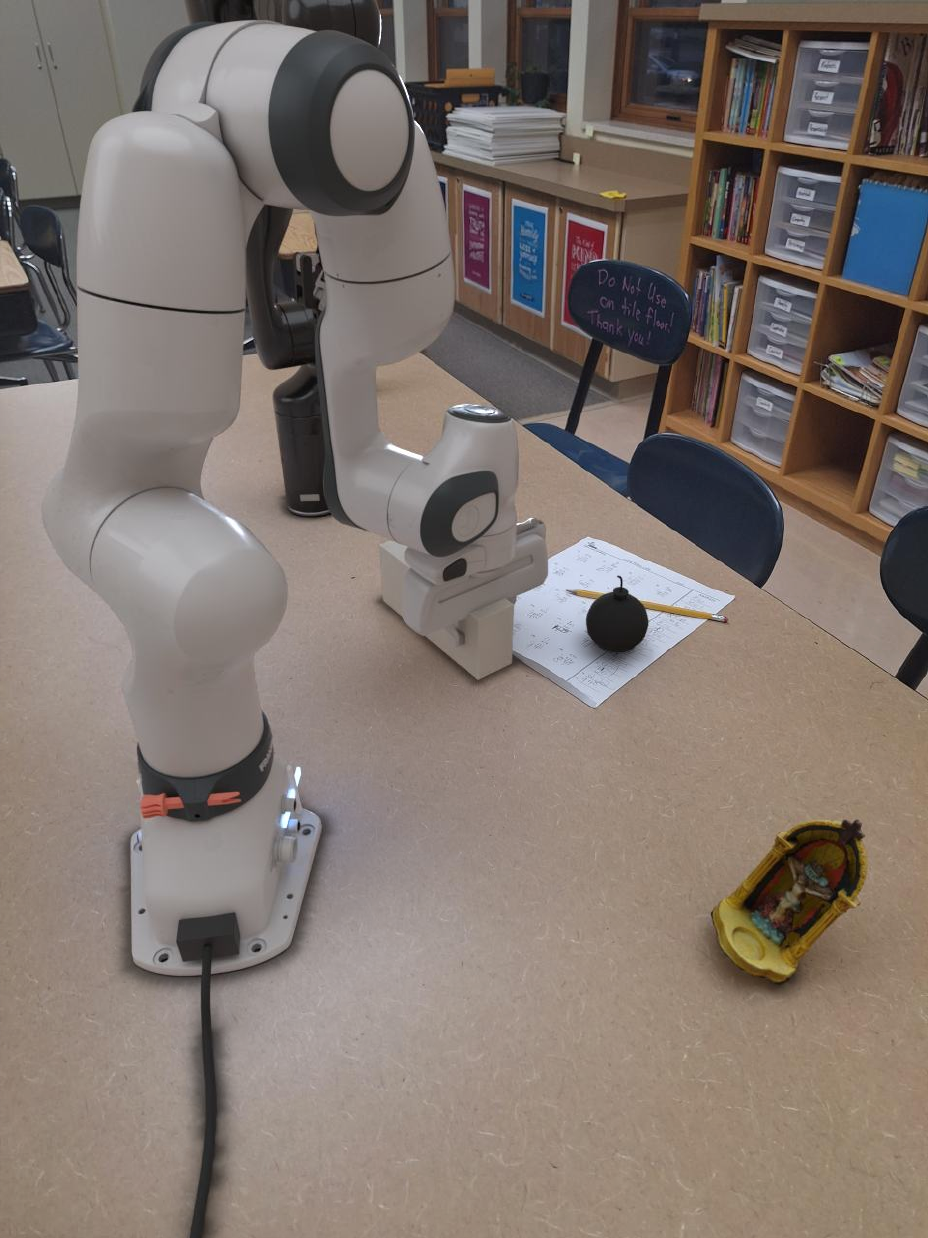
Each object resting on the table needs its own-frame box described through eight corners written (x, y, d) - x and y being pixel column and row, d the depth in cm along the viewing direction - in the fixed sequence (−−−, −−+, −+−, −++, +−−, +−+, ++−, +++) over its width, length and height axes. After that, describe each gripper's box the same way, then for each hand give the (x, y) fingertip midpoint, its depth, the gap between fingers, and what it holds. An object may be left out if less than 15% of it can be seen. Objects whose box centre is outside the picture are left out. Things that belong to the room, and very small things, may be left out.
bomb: (597, 622, 117) (606, 546, 110) (653, 640, 114) (665, 563, 107) (573, 653, 112) (580, 575, 105) (631, 672, 108) (642, 593, 101)
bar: (512, 663, 110) (514, 604, 105) (477, 680, 107) (478, 620, 102) (415, 587, 125) (412, 532, 119) (382, 600, 122) (378, 544, 116)
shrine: (791, 892, 81) (830, 781, 73) (851, 966, 75) (901, 853, 66) (686, 929, 78) (714, 817, 69) (739, 1009, 72) (776, 896, 63)
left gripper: (529, 504, 108) (524, 595, 116) (391, 555, 98) (397, 651, 106) (562, 523, 104) (556, 617, 112) (423, 579, 94) (426, 677, 102)
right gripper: (378, 182, 106) (385, 316, 116) (273, 195, 100) (290, 336, 109) (412, 191, 102) (417, 329, 111) (304, 205, 95) (319, 351, 104)
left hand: (477, 634), depth 109 cm, fingers closed on bar, 5 cm apart
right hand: (354, 332), depth 110 cm, fingers open, 8 cm apart
